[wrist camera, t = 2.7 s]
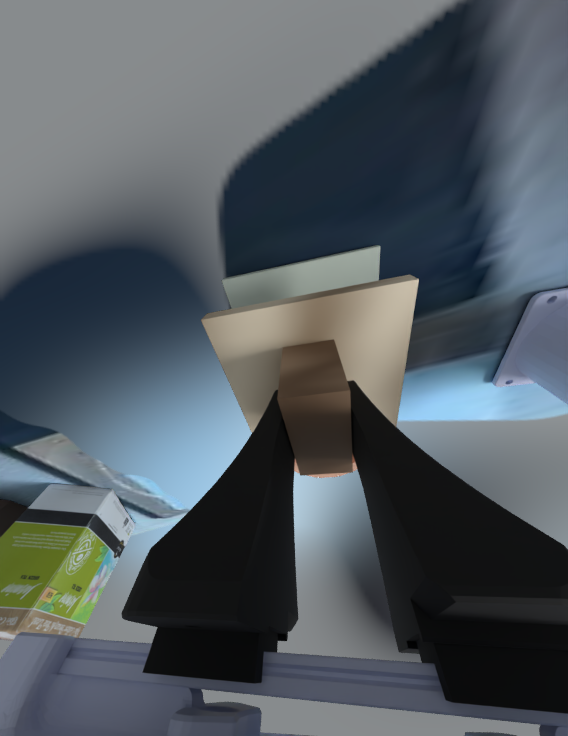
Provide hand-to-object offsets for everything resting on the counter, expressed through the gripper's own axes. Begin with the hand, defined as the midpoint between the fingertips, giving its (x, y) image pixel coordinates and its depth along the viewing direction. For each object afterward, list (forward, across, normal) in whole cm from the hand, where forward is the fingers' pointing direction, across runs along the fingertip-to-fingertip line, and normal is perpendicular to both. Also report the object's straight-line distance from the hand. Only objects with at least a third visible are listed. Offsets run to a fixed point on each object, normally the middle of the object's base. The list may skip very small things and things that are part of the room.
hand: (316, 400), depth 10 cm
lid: (+2, 0, 0) cm, 2 cm away
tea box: (+8, +41, +27) cm, 50 cm away
